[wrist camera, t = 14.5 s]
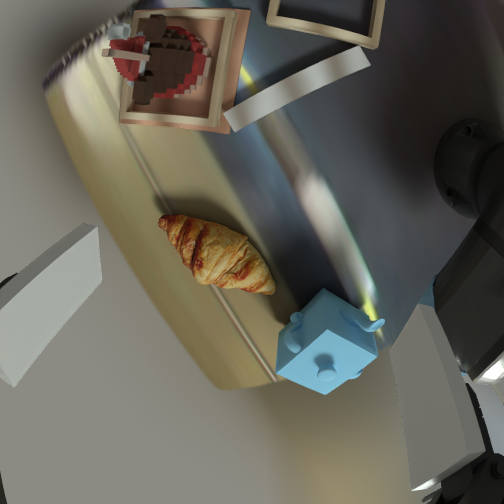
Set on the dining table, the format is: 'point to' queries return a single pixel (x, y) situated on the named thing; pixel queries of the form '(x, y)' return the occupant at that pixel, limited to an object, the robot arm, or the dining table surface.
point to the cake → (158, 59)
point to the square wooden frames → (228, 68)
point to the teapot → (326, 343)
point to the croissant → (218, 254)
